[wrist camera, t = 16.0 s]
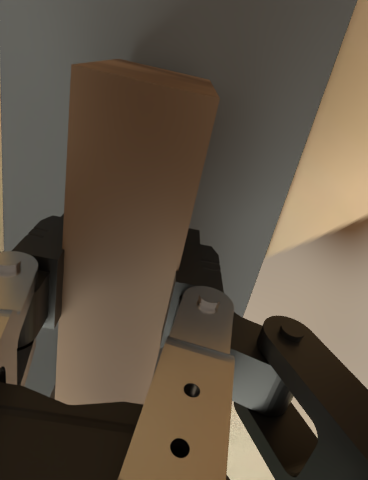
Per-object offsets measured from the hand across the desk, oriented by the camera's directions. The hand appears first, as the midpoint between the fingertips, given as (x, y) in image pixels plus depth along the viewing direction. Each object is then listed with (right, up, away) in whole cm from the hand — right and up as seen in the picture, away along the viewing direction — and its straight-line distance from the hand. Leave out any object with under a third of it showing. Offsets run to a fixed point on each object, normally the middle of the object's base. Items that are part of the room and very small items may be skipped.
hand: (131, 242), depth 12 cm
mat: (-1, -2, +4) cm, 5 cm away
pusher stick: (0, -1, +3) cm, 3 cm away
